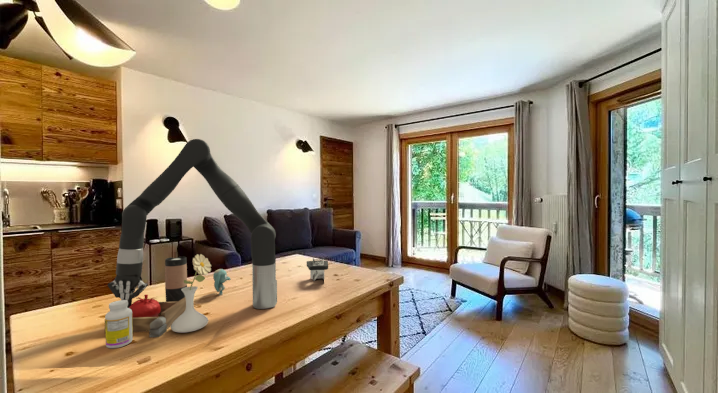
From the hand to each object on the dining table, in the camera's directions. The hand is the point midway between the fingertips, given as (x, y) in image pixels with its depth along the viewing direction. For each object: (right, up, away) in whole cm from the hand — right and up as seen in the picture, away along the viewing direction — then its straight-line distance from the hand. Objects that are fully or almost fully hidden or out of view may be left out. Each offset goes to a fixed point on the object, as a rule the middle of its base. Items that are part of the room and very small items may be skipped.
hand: (125, 309), depth 112 cm
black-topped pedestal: (+62, -4, +49) cm, 79 cm away
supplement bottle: (+9, -5, -15) cm, 19 cm away
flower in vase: (+26, -5, -4) cm, 27 cm away
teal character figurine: (+21, -5, +30) cm, 37 cm away
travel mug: (+9, -5, +15) cm, 19 cm away
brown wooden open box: (+8, -5, -1) cm, 10 cm away
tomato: (+5, -4, +1) cm, 7 cm away
